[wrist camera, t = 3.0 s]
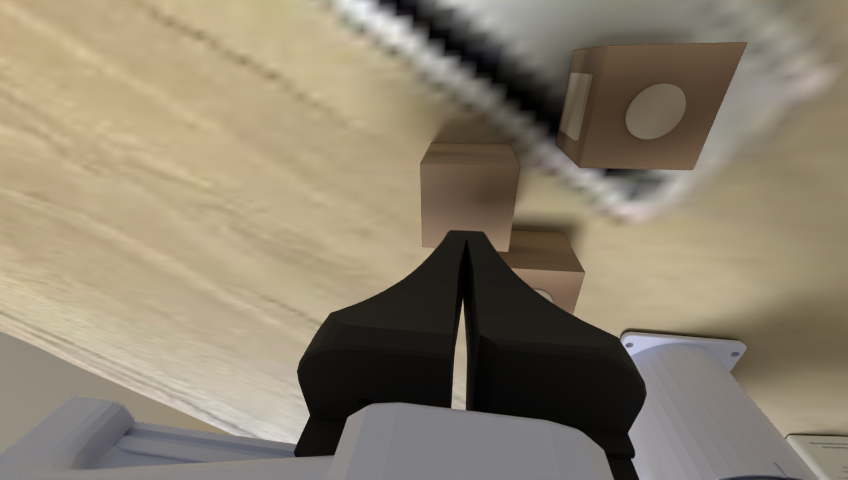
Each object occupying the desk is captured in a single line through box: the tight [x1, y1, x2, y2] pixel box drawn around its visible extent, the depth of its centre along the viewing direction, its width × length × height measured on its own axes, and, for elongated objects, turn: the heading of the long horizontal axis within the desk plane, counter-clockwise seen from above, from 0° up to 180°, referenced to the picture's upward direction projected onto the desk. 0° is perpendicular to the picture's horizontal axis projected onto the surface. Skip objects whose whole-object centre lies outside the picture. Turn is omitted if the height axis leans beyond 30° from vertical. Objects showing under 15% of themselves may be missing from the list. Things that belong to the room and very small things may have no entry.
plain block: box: [420, 143, 520, 252], centre depth 17 cm, size 4×4×4 cm
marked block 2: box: [497, 230, 585, 315], centre depth 19 cm, size 4×5×5 cm
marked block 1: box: [556, 42, 747, 170], centre depth 14 cm, size 4×5×5 cm
